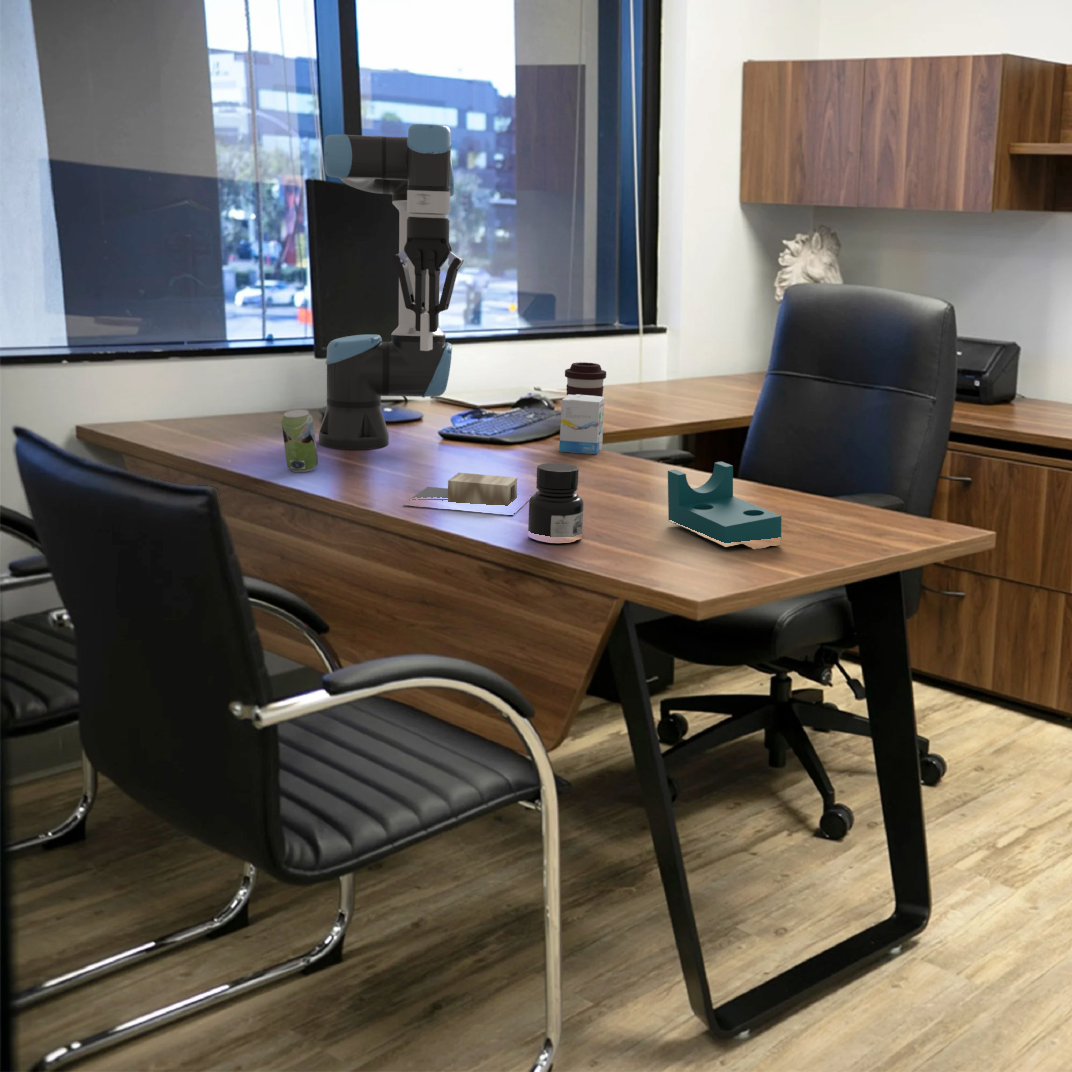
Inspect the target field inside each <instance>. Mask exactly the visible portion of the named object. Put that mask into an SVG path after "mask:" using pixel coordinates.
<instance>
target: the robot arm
mask: <svg viewBox="0 0 1072 1072" xmlns="http://www.w3.org/2000/svg"><path fill="white" fill-rule="evenodd" d="M451 136H452V135H451V129H450V127H449V126H447V125H443V124H442V125H441V124H428V123H427V124H426V123H425V124H422V123H419V124H418V123H414V124H411V125H410V126H409V127H408V133H407V136H383V135H382V136H380V135H357V134H356V135H355V134H345V133H339V134H328V135H326V137H325V138H324V148H323V149H324V150H323V151H324V152H323V153H324V158H323V159H324V173H325V175H326V176H328V177H329V178H338V179H339V180H341V182H343V184H345V185H346V186H349V187H351V188H355V189H357V190H360V191H363V192H368V193H374V194H381V195H382V194H384V195H391V196H392V198H391V200H392V201H391V203H392V205H393V206H394V207H395V208H396V209H397V210H398V212H399V217H398V218H399V219H398V220H399V224H398V225H399V226H398V227H399V228H398V229H399V230H398V231H399V235H398V236H399V237H398V239H399V240H398V246H399V247H398V253H397V254H393V255H392V257H391V260H392V262H393V264H394V265H395V267H396V269H397V273H398V326H397V327H396V328H395V329H394V330H393V331H392V333H391V335H390V336H391V340H390V341H383V339H382V337H381V335H380V334H376V333H375V334H355V335H350V336H349V335H348V336H347V335H346V336H343V337H339V338H335V339H333V340H330V342H329V343H328V345H327V347H326V360H325V365H326V409H325V412H324V416H323V418H322V421H321V425H320V428H319V431H318V444H319V445H321V446H324V447H326V448H332V449H339V450H371V449H378V448H384V447H385V446H386V447H387V446H388V445H389V443H390V441H389V439H390V437H389V435H390V434H389V431H388V426H387V424H386V420H385V417H384V414H383V411H382V397H418V398H419V397H421V398H426V397H430V398H431V397H441V396H442V395H443V394H445V392H446V391H447V386H448V382H449V377H450V370H451V365H452V355H453V354H452V352H453V345H452V343H450V342H448V341H447V342H446V333H445V332H443V330H442V329H441V328H440V326H439V319H440V318H439V316H440V315H439V314H440V313H442V312H444V311H447V310H449V306H450V303H451V299H452V295H453V291H454V287H455V284H456V279H457V276H458V271H459V270H460V269H461V267H462V265H463V263H464V258H463V257H459V256H458V255H457V254H455V253H453V252H452V251H453V250H452V246H451V244H450V220H449V218H448V217H447V216H448V215H450V212H451V211H450V209H451V208H450V205H451V203H450V202H451V201H450V200H451V199H450V198H451V197H453V196H454V195H455V184H454V182H455V180H454V178H455V177H454V170H453V169H454V168H453V160H452V152H451V151H452V146H453V145H452V140H451V138H452V137H451ZM447 260H448V262H447V265H448V268H447V272H446V275H445V279H444V282H443V288H442V290H441V295H440V277H441V276H440V275H441V268H442V266H443V265H444V264H445V262H446V261H447Z"/></svg>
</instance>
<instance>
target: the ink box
mask: <svg viewBox="0 0 1072 1072" xmlns="http://www.w3.org/2000/svg"><path fill="white" fill-rule="evenodd" d="M605 397H606V396H602V397H601V396H590V395H579V394H576V395H569V394H568V395H567V394H566V396H564V397H563V398H562V399H561V408H560V428H559V430H560V431H559V447H558V448H559V449H558V452H562V453H574V454H588V455H597V454H598V453H599V452H600V450H602V449H603V442H604V441H603V439H604V438H603V437H604V435H603V434H604V419H605V417H604V416H605Z"/></svg>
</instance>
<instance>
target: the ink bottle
mask: <svg viewBox="0 0 1072 1072" xmlns="http://www.w3.org/2000/svg"><path fill="white" fill-rule="evenodd" d="M536 466H537V467H536V489H537V491H535V494H533V495H531V498H530V500H529V501H528V503H529V504H528V527H527V530H528V531H530V532H531V533H534V534H539V535H545V536H550V537H574V536H576V535H580V534H582V535H583V528H584V527H583V526H584V525H583V524H584V522H583V521H584V500H583V498H582V497H581V496H580V495H579V494H578V493H577V492H576V491H578V489H579V486H578V485H579V470H580V468H579V467H578V466H577V465H574V464H571V463H564V462H545V463H541V464H538V465H536ZM528 531H527V532H528Z"/></svg>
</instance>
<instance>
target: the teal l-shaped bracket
mask: <svg viewBox="0 0 1072 1072" xmlns="http://www.w3.org/2000/svg"><path fill="white" fill-rule="evenodd" d="M713 464H714V467H713V469H712V470H713V471H712V473H711V475H710V476H709V479H708V480H707V481H706V482H705V483H704V484H702V485H701V486H698V487H691V486H690V484H689V482H688V478H687V473H685V472H682V471H681V470H680V471H679V470H678V469H676V468H675V469H669V470H667V503H668V508H667V509H668V511H667V512H668V513H667V514H668V521H669V520H672V521H674V522H676V523H678V524H680V525H683V526H685V527H688V528H690V529H692V530H695V531H697V532H700V533H703V534H705V535H707V536H709V537H711V538H714V539H716V540H719V541H721V542H724V543H731V542H741V541H750V540H761V539H771V538H778V537H781V538H782V515H780V514H777V513H775V512H773V511H770V510H768V509H766V508H763V507H761V506H759V505H755V504H753V503H751V502H749V501H746V500H744V499H741V498H738V497H736V496H734V466H733V465H732V464H730V463H726V462H724V461H716V462H714V463H713Z"/></svg>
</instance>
